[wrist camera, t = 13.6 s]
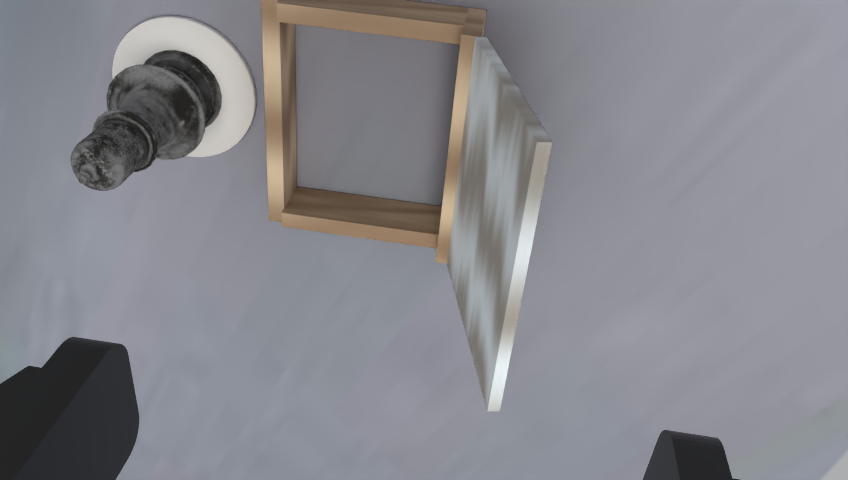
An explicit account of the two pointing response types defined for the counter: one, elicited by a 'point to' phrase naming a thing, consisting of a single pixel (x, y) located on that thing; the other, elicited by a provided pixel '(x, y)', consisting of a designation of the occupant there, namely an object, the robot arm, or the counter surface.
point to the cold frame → (465, 172)
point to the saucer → (215, 56)
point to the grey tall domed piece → (148, 118)
